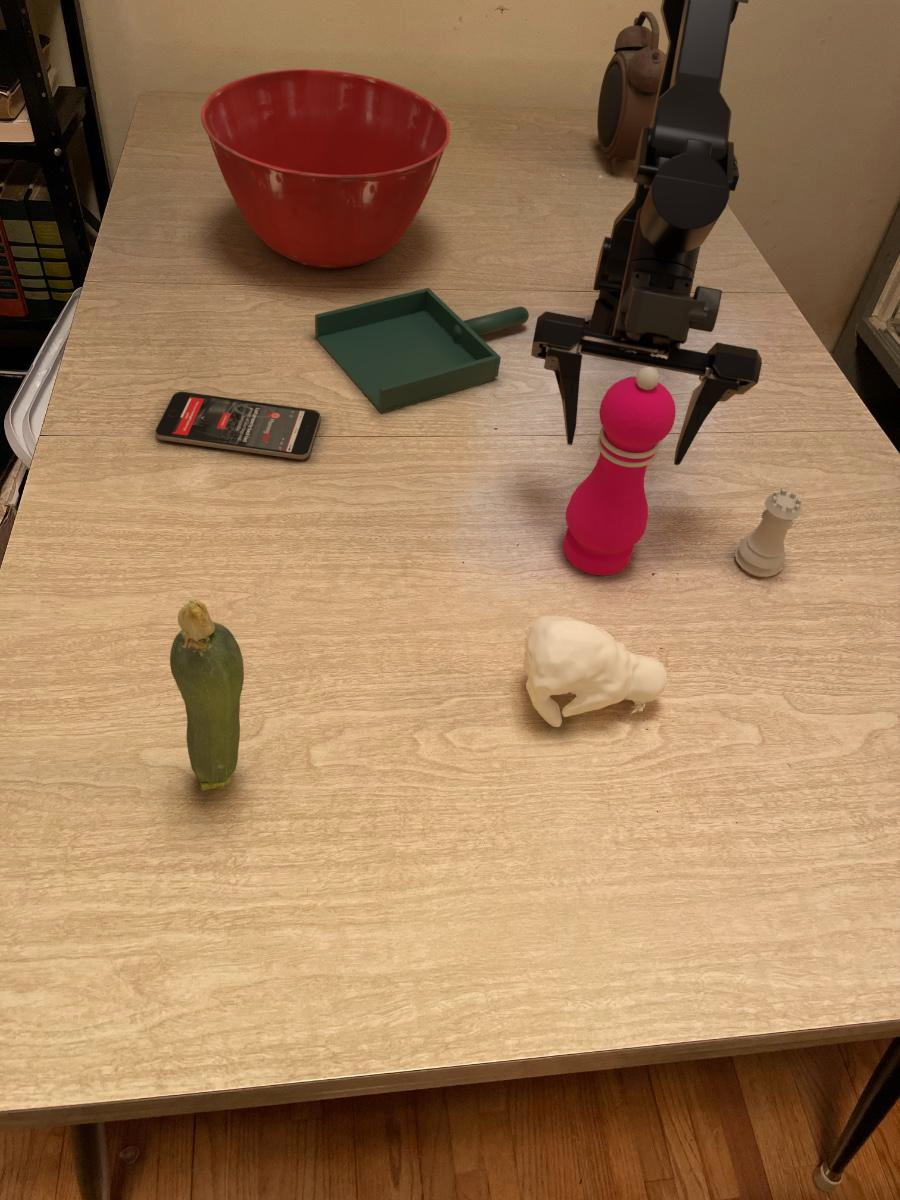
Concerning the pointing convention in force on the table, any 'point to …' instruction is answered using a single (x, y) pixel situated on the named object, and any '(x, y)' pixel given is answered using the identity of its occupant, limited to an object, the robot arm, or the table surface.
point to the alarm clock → (629, 89)
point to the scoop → (412, 347)
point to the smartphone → (239, 425)
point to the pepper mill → (618, 475)
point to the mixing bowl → (325, 160)
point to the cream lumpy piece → (585, 669)
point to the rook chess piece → (769, 536)
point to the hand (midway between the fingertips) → (623, 454)
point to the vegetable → (208, 693)
